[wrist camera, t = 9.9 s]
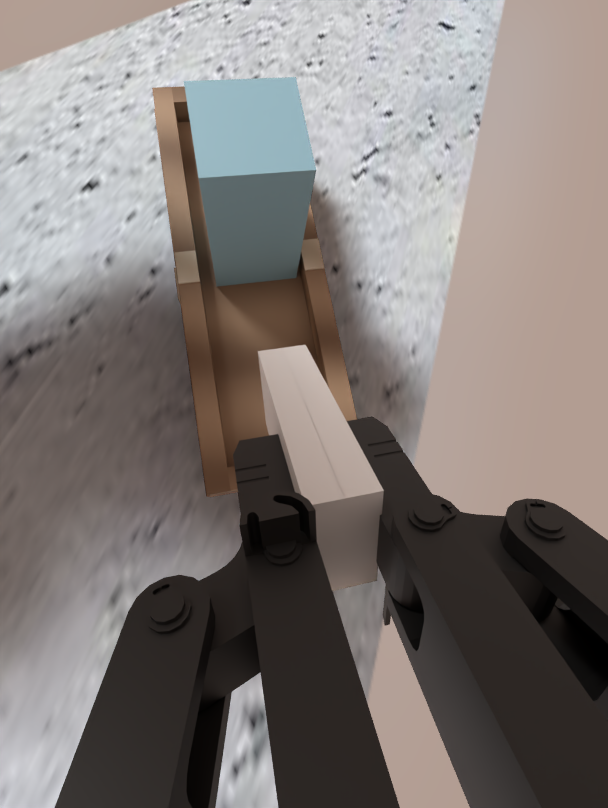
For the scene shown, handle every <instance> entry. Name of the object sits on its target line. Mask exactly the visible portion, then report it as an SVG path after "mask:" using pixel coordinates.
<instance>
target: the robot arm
mask: <svg viewBox="0 0 608 808" xmlns="http://www.w3.org/2000/svg"><path fill="white" fill-rule="evenodd" d="M258 358H259V366H260V375H261V384H262V393H263V401H264V410H265V419H266V425H267V429H268V433H269V436H263V437H257V438H251V439H246V440H240V441H239V443H238V445H237V447H236V449H235V451H234V454H233V459H234V466H235V474H236V482H237V489H238V497H239V504H240V512H241V518H240V531H241V536H242V544H241V547H240V550H239V551H238V553H237V554H236V556H235V557H234V558H233V559H232V560H231V561H230V562H229V563H228V564H227V565H226V566H225V567H223V568H222V569H220V570H219V571H217V572H215V573H213V574H212V575H210V576H208V577H206V578H204V579H202V580H200V581H198V580H196V579H195V578H193V577H188V576H182V575H177V576H172V577H166V578H163V579H161V580H159V581H157V582H155V583H153V584H151V585H149V586H148V587H147V588H146V589H145V590H144V591H143V592H142V593H141V594H140V595H139V596H138V597H137V598H136V600H135V601H134V603H133V605H132V607H131V608H130V610H129V612H128V615H127V617H126V620H125V623H124V625H123V628H122V630H121V633H120V636H119V638H118V641H117V644H116V646H115V649H114V652H113V654H112V657H111V660H110V662H109V665H108V668H107V670H106V673H105V676H104V678H103V681H102V684H101V686H100V689H99V692H98V694H97V697H96V700H95V702H94V705H93V707H92V710H91V713H90V715H89V718H88V721H87V723H86V726H85V729H84V731H83V734H82V737H81V739H80V742H79V745H78V747H77V750H76V753H75V755H74V758H73V761H72V763H71V766H70V769H69V771H68V774H67V776H66V779H65V782H64V784H63V787H62V790H61V792H60V795H59V798H58V800H57V803H56V806H55V808H215V806H216V799H217V792H218V785H219V777H220V770H221V763H222V756H223V749H224V742H225V735H226V728H227V721H228V714H229V707H230V700H231V693H232V691H233V690H235V689H236V688H238V687H239V686H241V685H242V684H244V683H245V682H247V681H248V680H250V679H251V678H253V677H254V676H255V675H257V674H258V673H260V672H261V678H262V686H263V694H264V701H265V709H266V716H267V724H268V731H269V739H270V746H271V754H272V761H273V769H274V776H275V784H276V791H277V799H278V807H279V808H400V807H399V804H398V801H397V797H396V794H395V791H394V788H393V784H392V781H391V778H390V775H389V772H388V769H387V765H386V762H385V759H384V756H383V752H382V749H381V746H380V743H379V740H378V736H377V733H376V730H375V727H374V723H373V720H372V717H371V714H370V711H369V708H368V704H367V701H366V698H365V695H364V691H363V688H362V685H361V682H360V678H359V675H358V672H357V669H356V666H355V662H354V659H353V656H352V653H351V650H350V646H349V643H348V640H347V637H346V634H345V630H344V627H343V624H342V621H341V617H340V614H339V611H338V608H337V605H336V601H335V598H334V595H333V592H332V591H334V590H339V589H343V588H347V587H351V586H356V585H360V584H364V583H369V582H373V581H377V571H378V567H379V569H380V571H381V574H382V576H383V578H384V581H385V583H386V588H385V598H384V608H383V619H384V624H385V625H388V624H390V616H392V618H393V621H394V623H395V626H396V628H397V631H398V633H399V636H400V638H401V640H402V643H403V645H404V648H405V650H406V653H407V655H408V658H409V660H410V662H411V665H412V667H413V670H414V672H415V674H416V677H417V679H418V682H419V684H420V686H421V689H422V692H423V694H424V696H425V699H426V701H427V704H428V706H429V709H430V711H431V713H432V716H433V718H434V721H435V723H436V726H437V728H438V731H439V733H440V736H441V738H442V740H443V743H444V745H445V748H446V750H447V753H448V755H449V757H450V760H451V762H452V765H453V767H454V770H455V772H456V774H457V777H458V779H459V782H460V784H461V787H462V789H463V792H464V794H465V796H466V799H467V801H468V804H469V806H470V808H608V540H607V539H605V538H604V537H603V536H601V535H600V534H598V533H597V532H596V531H594V530H593V529H591V528H590V527H589V526H587V525H586V524H585V523H583V522H582V521H581V520H579V519H578V518H577V517H575V516H574V515H572V514H571V513H570V512H568V511H566V510H565V509H563V508H561V507H559V506H558V505H556V504H554V503H550V502H547V501H544V500H539V499H523V500H519V501H515V502H514V503H513V504H512V505H511V506H509V507H508V509H507V512H506V516H491V515H476V514H469V513H463V512H460V511H459V510H458V509H457V508H456V507H455V506H454V505H453V504H452V503H451V502H450V501H448V500H446V499H444V498H442V497H440V496H437V495H433V494H432V493H431V492H430V490H429V489H428V487H427V486H426V484H425V483H424V481H423V480H422V478H421V477H420V476H419V474H418V472H417V471H416V469H415V468H414V466H413V465H412V463H411V462H410V460H409V459H408V457H407V456H406V454H405V453H403V450H402V448H401V447H400V445H399V444H398V442H396V439H395V438H394V436H393V435H392V433H391V432H390V430H389V429H388V427H387V426H386V425H384V424H383V423H381V422H380V421H378V420H377V419H375V418H374V417H368V418H362V419H356V420H350V421H346V419H345V417H344V416H343V414H342V412H341V410H340V408H339V406H338V404H337V402H336V401H335V399H334V397H333V395H332V393H331V391H330V389H329V388H328V386H327V384H326V382H325V380H324V378H323V376H322V375H321V373H320V371H319V369H318V367H317V365H316V363H315V361H314V360H313V358H312V356H311V354H310V352H309V350H308V348H307V347H306V345H299V346H292V347H285V348H278V349H270V350H263V351H258Z"/></svg>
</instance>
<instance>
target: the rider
mask: <svg viewBox="0 0 608 808" xmlns="http://www.w3.org/2000/svg"><path fill="white" fill-rule="evenodd" d="M184 86H185V92H186V99H187V105H188V112H189V119H190V125H191V132H192V138H193V145H194V152H195V158H196V165H197V171H198V178H199V184H200V190H201V196H202V202H203V208H204V214H205V220H206V226H207V232H208V238H209V244H210V250H211V256H212V262H213V268H214V274H215V280H216V286H217V287H218V286H227V285H236V284H245V283H255V282H264V281H273V280H282V279H291V278H296V276H297V271H298V265H299V260H300V255H301V249H302V244H303V238H304V233H305V227H306V222H307V217H308V211H309V206H310V200H311V195H312V189H313V184H314V179H315V173H316V167H315V163H314V158H313V154H312V149H311V145H310V140H309V135H308V131H307V126H306V122H305V117H304V113H303V108H302V104H301V99H300V95H299V90H298V86H297V81H296V77H289V78H261V79H234V80H206V81H184Z"/></svg>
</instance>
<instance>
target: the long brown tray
mask: <svg viewBox="0 0 608 808" xmlns="http://www.w3.org/2000/svg"><path fill="white" fill-rule="evenodd" d="M152 89H153V96H154V104H155V109H154V110H155V117H156V125H157V132H158V140H159V147H160V155H161V162H162V169H163V177H164V184H165V192H166V199H167V207H168V214H169V222H170V229H171V236H172V244H173V251H174V259H175V266H176V268H174V271H175V279H176V286H177V294H178V299H179V302H180V304H181V311H182V318H183V326H184V333H185V341H186V348H187V356H188V363H189V370H190V378H191V385H192V393H193V400H194V408H195V415H196V423H197V430H198V437H199V445H200V452H201V460H202V467H203V475H204V482H205V490H206V496H207V497H214V496H219V495H225V494H230V493H236V492H238V489H237V482H236V474H235V466H234V459H233V454H234V451H235V449H236V447H237V445H238V443H239V441H240V440H246V439H251V438H257V437H263V436H269V433H268V429H267V425H266V419H265V410H264V401H263V393H262V384H261V375H260V366H259V358H258V351H263V350H270V349H278V348H285V347H292V346H299V345H306V347H307V348H308V350H309V352H310V354H311V356H312V358H313V360H314V361H315V363H316V365H317V367H318V369H319V371H320V373H321V375H322V376H323V378H324V380H325V382H326V384H327V386H328V388H329V389H330V391H331V393H332V395H333V397H334V399H335V401H336V402H337V404H338V406H339V408H340V410H341V412H342V414H343V416H344V417H345V419H346V421H350V420H356V419H357V417H356V412H355V408H354V403H353V399H352V394H351V389H350V385H349V380H348V376H347V371H346V366H345V362H344V357H343V352H342V348H341V343H340V339H339V334H338V329H337V325H336V320H335V315H334V311H333V306H332V302H331V297H330V292H329V288H328V283H327V278H326V274H325V269H324V268H325V267H324V263H323V258H322V253H321V249H320V244H319V239H318V237H317V232H316V228H315V223H314V218H313V214H312V209H311V205H310V206H309V211H308V217H307V222H306V227H305V233H304V238H303V244H302V249H301V255H300V260H299V265H298V271H297V276H296V278H291V279H282V280H273V281H264V282H255V283H245V284H236V285H227V286H218V287H217V286H216V280H215V274H214V268H213V262H212V256H211V250H210V244H209V238H208V232H207V226H206V220H205V214H204V208H203V202H202V196H201V190H200V184H199V178H198V171H197V165H196V158H195V152H194V145H193V138H192V132H191V125H190V119H189V112H188V105H187V99H186V92H185V87H162V88H152Z"/></svg>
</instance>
